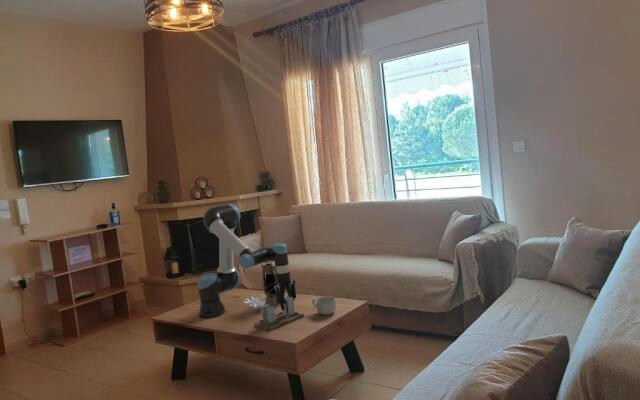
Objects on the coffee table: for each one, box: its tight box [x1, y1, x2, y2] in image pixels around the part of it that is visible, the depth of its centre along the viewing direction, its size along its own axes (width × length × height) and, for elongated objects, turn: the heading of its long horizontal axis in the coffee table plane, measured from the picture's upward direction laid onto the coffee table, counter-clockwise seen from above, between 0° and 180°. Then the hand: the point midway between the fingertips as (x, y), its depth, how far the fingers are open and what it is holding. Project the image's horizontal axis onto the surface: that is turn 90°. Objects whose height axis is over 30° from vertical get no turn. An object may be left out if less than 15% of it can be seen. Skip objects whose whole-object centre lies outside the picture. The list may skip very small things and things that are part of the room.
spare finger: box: [281, 295, 296, 316], centre depth 257 cm, size 4×6×9 cm
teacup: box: [311, 295, 337, 316], centre depth 258 cm, size 14×11×8 cm
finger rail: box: [253, 303, 305, 332], centre depth 253 cm, size 14×23×10 cm, turn 132°
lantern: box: [260, 261, 281, 309], centre depth 283 cm, size 14×12×30 cm
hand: (288, 313), depth 258 cm, fingers closed on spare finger, 4 cm apart
